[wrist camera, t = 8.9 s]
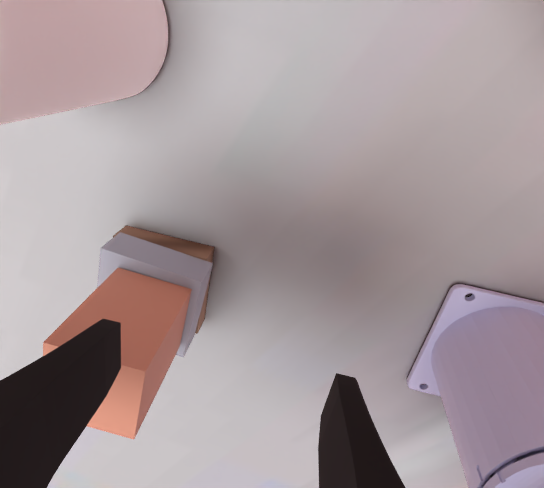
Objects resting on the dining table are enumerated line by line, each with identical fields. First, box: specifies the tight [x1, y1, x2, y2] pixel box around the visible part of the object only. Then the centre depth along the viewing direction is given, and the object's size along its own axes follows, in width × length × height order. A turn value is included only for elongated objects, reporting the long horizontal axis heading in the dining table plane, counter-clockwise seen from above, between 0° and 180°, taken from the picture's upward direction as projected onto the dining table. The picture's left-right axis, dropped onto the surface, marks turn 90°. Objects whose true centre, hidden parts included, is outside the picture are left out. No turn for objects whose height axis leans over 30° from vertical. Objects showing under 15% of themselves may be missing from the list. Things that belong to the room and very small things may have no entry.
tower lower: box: [113, 226, 214, 334], centre depth 24 cm, size 6×6×2 cm
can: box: [0, 0, 168, 125], centre depth 13 cm, size 6×6×12 cm
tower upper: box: [97, 232, 213, 357], centre depth 22 cm, size 6×6×2 cm
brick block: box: [43, 268, 192, 439], centre depth 18 cm, size 4×4×6 cm
